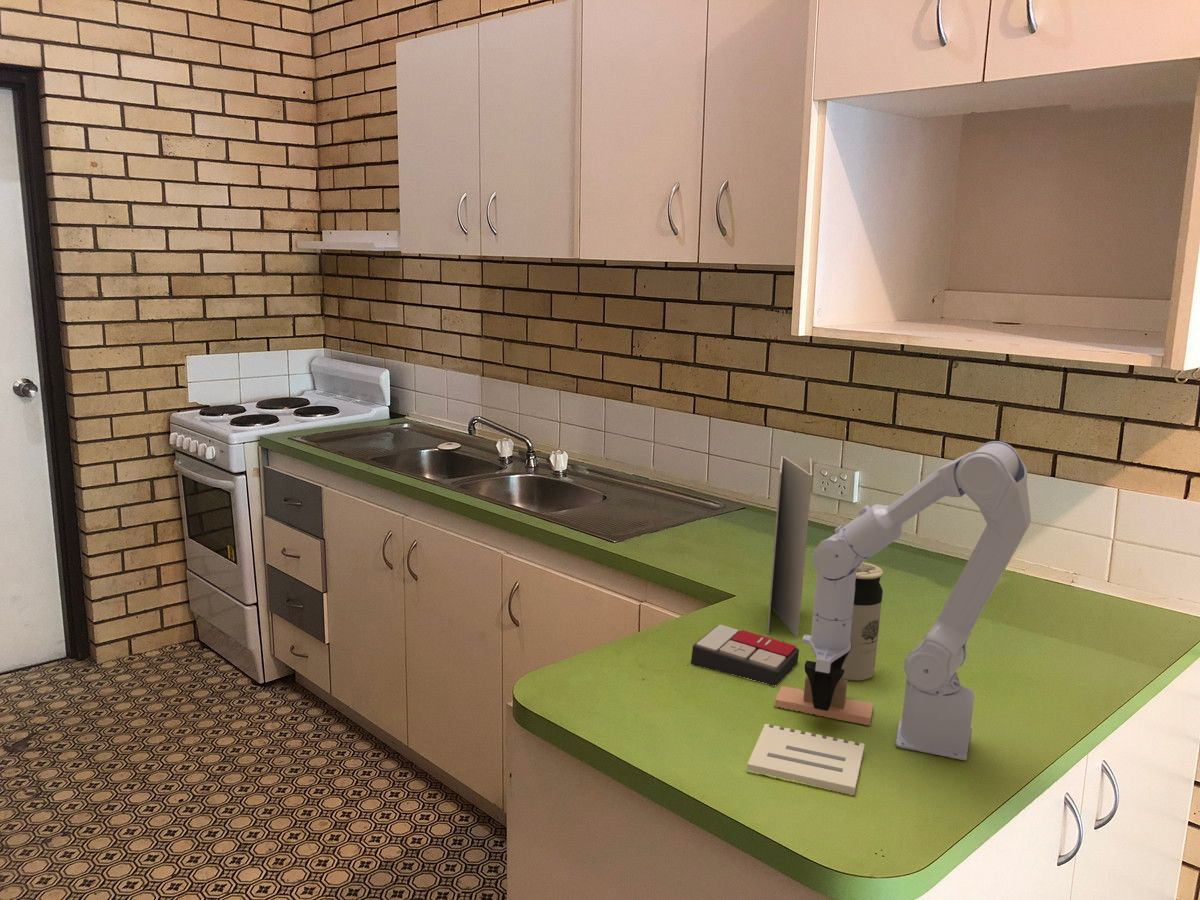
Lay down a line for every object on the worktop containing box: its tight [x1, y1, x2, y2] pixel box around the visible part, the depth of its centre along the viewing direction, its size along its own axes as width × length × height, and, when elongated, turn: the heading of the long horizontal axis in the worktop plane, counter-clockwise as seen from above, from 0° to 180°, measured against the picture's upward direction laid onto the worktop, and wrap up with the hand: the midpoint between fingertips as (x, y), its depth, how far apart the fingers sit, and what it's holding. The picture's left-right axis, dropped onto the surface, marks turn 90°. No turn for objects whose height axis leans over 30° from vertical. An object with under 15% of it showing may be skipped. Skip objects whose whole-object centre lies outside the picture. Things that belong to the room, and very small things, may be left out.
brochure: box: [766, 455, 813, 638], centre depth 179 cm, size 14×6×30 cm, turn 168°
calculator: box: [690, 624, 800, 687], centre depth 163 cm, size 11×4×15 cm
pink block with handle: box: [774, 675, 874, 726], centre depth 148 cm, size 14×5×5 cm, turn 69°
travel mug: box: [841, 561, 884, 682], centre depth 160 cm, size 8×8×18 cm
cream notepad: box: [746, 723, 866, 796], centre depth 133 cm, size 14×12×1 cm
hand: (824, 697), depth 148 cm, fingers open, 7 cm apart
